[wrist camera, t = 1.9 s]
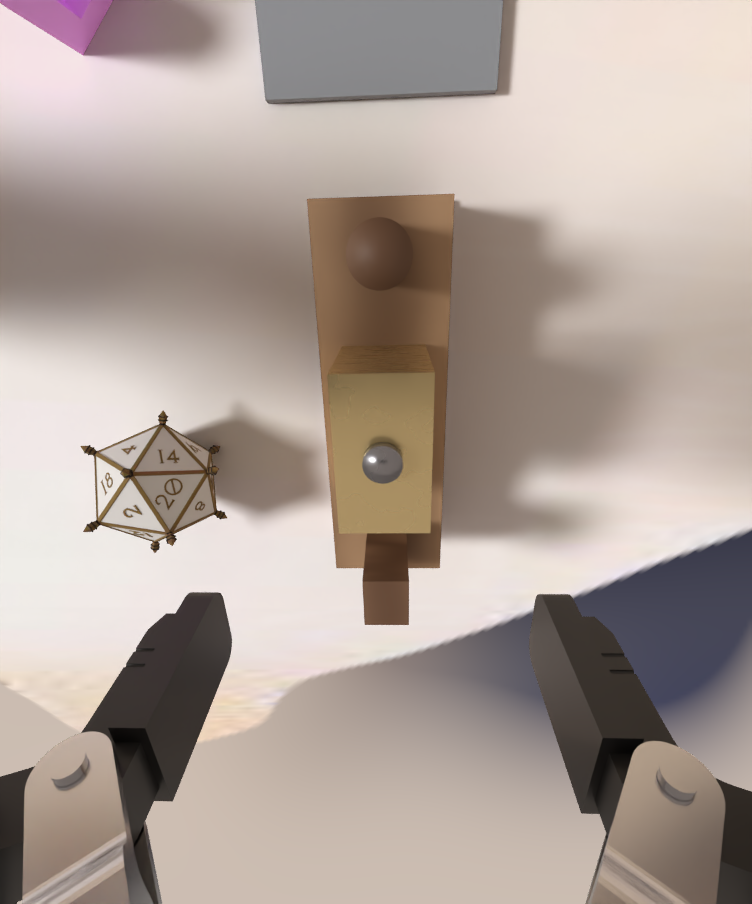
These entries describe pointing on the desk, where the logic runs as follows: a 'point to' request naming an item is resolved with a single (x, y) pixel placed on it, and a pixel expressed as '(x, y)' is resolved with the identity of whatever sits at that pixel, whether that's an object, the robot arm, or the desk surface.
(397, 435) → the lever cap
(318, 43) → the mat
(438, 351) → the plane body
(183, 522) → the game die
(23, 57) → the desk surface
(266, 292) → the desk surface
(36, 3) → the bracket
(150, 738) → the robot arm
